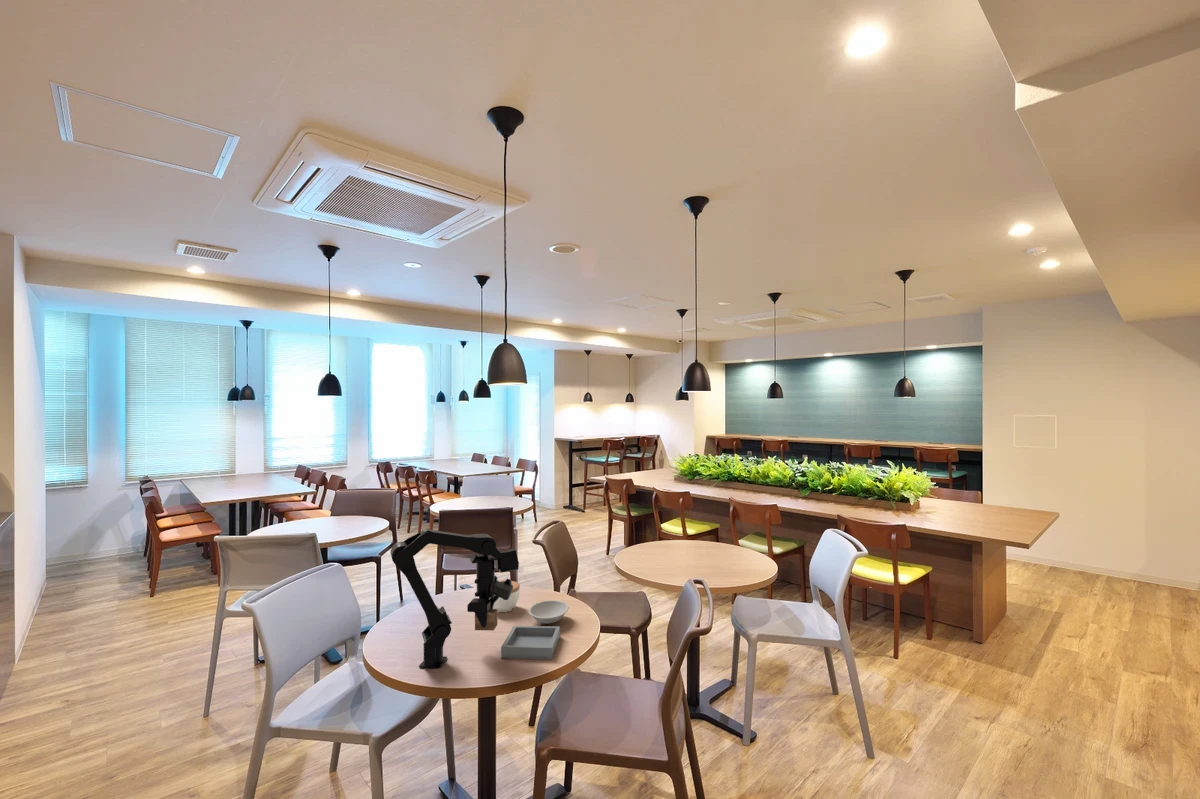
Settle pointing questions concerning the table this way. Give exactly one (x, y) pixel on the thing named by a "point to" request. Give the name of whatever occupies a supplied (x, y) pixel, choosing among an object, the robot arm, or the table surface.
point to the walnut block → (488, 621)
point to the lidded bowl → (512, 600)
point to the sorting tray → (531, 642)
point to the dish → (548, 611)
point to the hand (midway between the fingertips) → (486, 624)
